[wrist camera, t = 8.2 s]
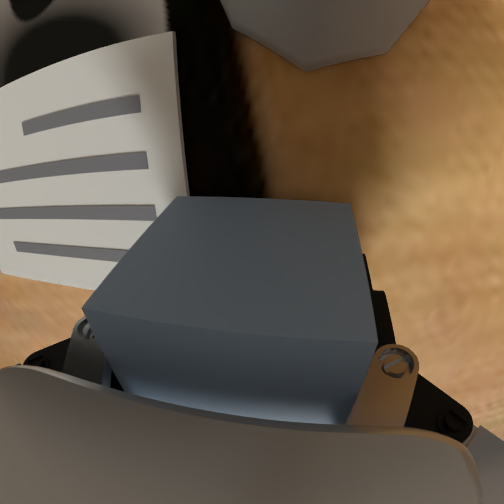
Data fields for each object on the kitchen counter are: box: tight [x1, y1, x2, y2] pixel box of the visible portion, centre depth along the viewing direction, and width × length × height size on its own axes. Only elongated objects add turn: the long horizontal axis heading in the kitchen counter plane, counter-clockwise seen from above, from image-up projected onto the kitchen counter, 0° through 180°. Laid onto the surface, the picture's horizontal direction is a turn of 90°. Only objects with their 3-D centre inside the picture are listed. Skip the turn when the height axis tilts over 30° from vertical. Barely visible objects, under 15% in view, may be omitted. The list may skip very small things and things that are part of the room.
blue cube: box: [82, 196, 378, 425], centre depth 10 cm, size 6×6×6 cm
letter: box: [0, 31, 190, 290], centre depth 13 cm, size 16×12×1 cm
